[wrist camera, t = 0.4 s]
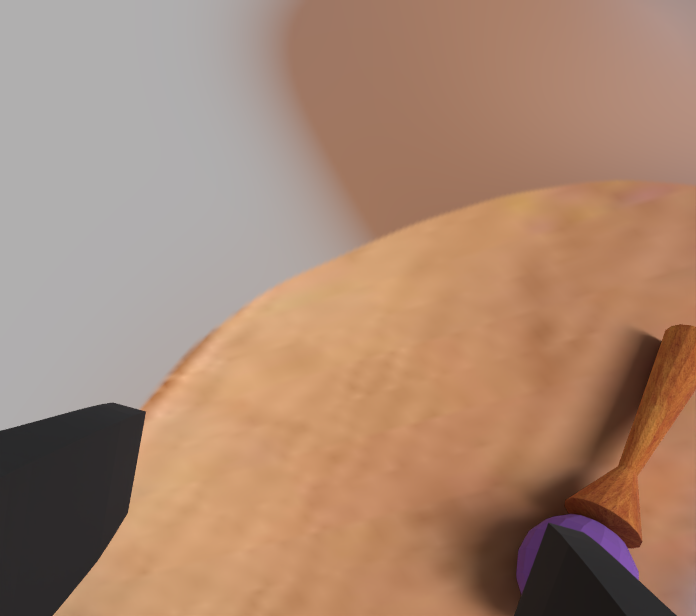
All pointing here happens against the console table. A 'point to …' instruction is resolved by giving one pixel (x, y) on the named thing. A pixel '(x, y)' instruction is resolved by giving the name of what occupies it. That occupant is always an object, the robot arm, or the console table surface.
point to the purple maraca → (627, 461)
